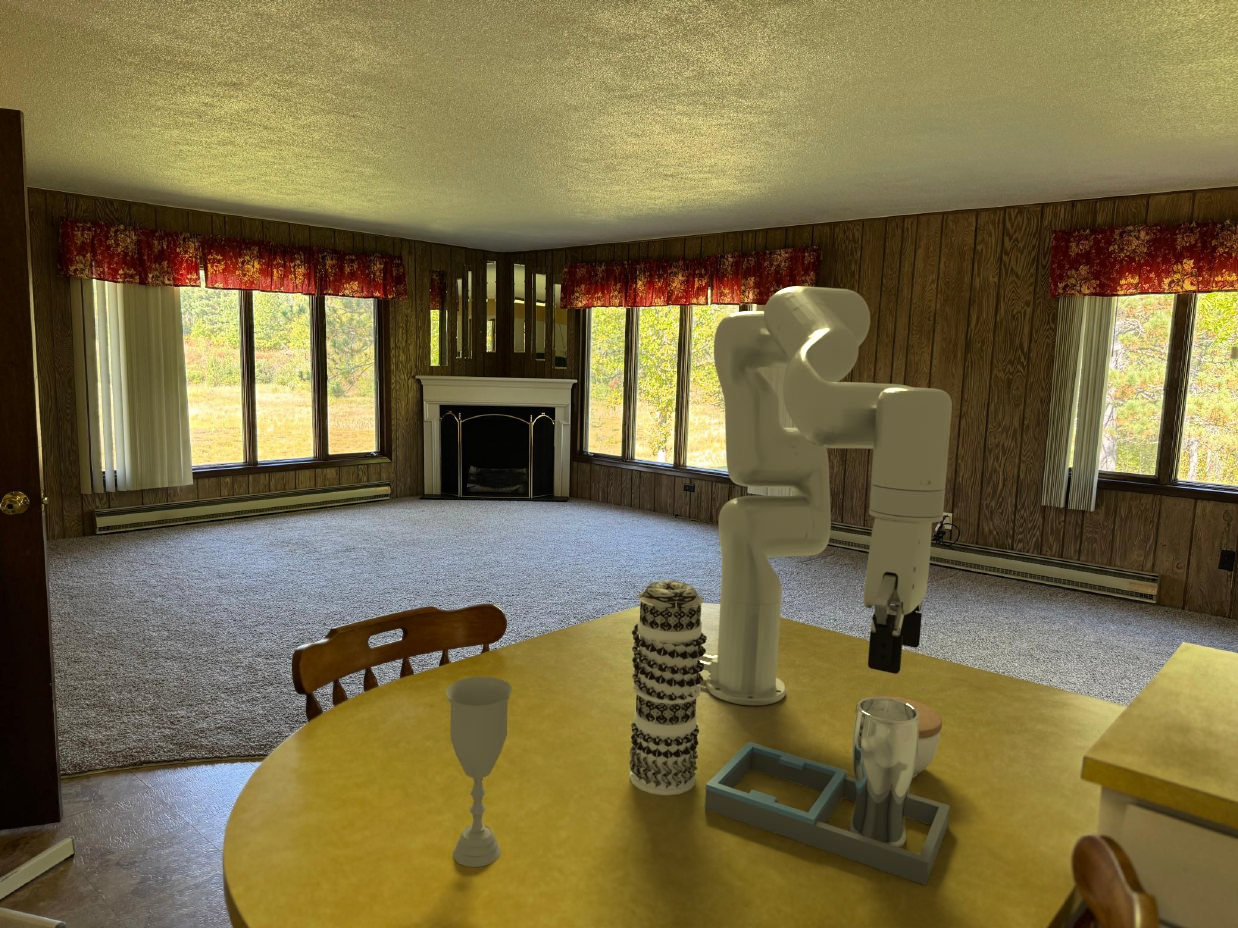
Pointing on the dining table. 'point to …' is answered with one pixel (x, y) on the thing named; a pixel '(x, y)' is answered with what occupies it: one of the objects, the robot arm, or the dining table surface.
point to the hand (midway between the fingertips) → (894, 656)
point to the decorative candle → (666, 688)
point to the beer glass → (883, 767)
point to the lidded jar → (924, 733)
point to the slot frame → (821, 811)
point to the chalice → (478, 755)
